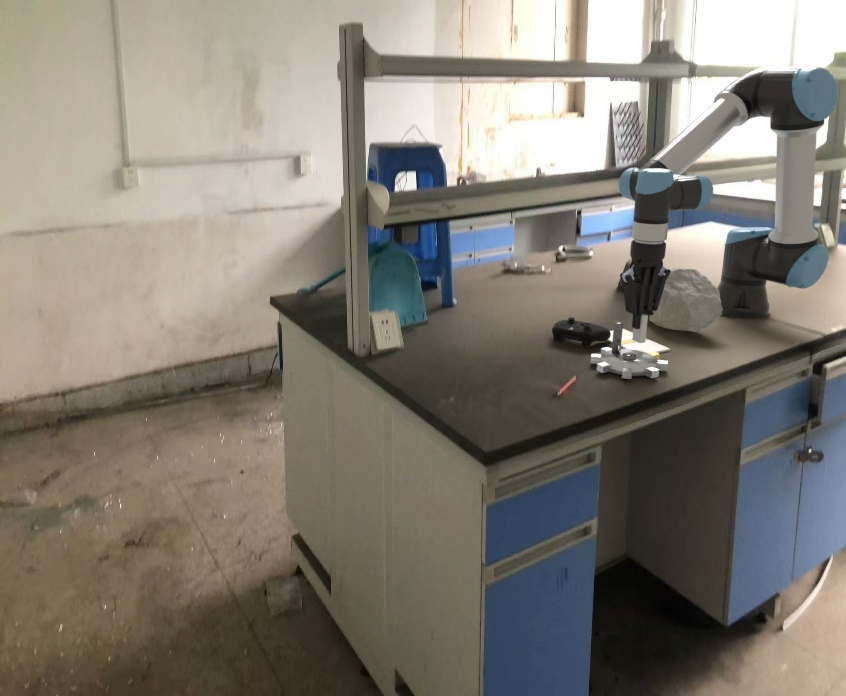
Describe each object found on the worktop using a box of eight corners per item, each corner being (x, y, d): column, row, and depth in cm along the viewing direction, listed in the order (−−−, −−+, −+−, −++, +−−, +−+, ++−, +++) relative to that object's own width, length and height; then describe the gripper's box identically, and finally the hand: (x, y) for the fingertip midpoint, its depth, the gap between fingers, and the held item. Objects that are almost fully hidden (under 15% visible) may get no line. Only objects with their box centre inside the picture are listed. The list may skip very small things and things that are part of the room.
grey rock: (729, 336, 199) (737, 278, 194) (693, 345, 192) (700, 285, 187) (660, 313, 217) (666, 260, 212) (625, 321, 210) (630, 266, 205)
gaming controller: (614, 321, 193) (597, 324, 185) (611, 345, 194) (594, 349, 187) (563, 312, 202) (544, 315, 194) (560, 335, 203) (541, 339, 195)
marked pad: (622, 330, 203) (623, 328, 202) (669, 350, 188) (670, 348, 188) (594, 335, 199) (594, 333, 199) (640, 356, 185) (640, 354, 184)
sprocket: (632, 349, 188) (636, 313, 185) (683, 371, 174) (687, 334, 171) (575, 359, 181) (578, 323, 178) (623, 384, 167) (627, 345, 164)
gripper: (659, 234, 181) (649, 332, 189) (614, 239, 175) (605, 340, 183) (683, 241, 174) (671, 341, 182) (637, 246, 169) (627, 350, 177)
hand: (638, 341), depth 183 cm, fingers closed
